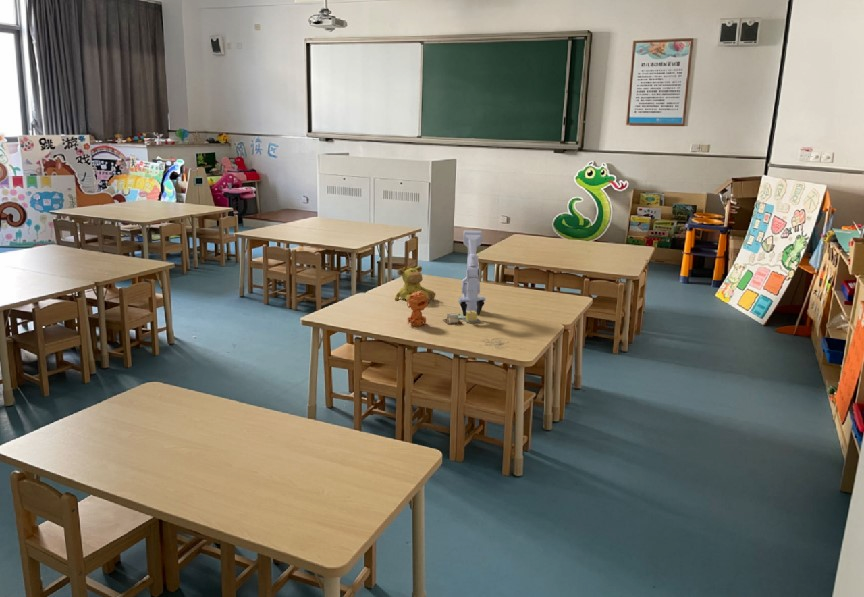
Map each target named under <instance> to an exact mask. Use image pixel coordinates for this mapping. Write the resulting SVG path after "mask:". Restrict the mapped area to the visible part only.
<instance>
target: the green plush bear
mask: <svg viewBox="0 0 864 597" xmlns="http://www.w3.org/2000/svg"><path fill="white" fill-rule="evenodd" d="M422 270H423V267H422V266H421V265H418V266H416V267H415V266H414V265H410V267H409V266H406V267H405V266H403V268H399V269H398V270H397V271H396V273H397V275H398V276H401V279H402V281H403V283H404V284H403V286H402V287H401V288H400V290H399V291H398V292H397V293H396V294H395V297H394V300H395V301H396V300H397V301H398V300H399V299H402V300H405V299H406V302H407V299H408V297H409V296H410V295H412V293H414V292H418V291H421V290H422V291H421V292H423V293H424V294H426V296H427V299H426V300H424V301H429V302H430V300H432V301H434V300H435V298H436V292H435V291H434V290H431V289H429V288H426V287H424V286H422V285H421V282H422V281H423V274H422V273H421V272H422ZM408 302H409V299H408Z"/></svg>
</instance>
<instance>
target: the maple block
mask: <svg viewBox="0 0 864 597" xmlns="http://www.w3.org/2000/svg"><path fill="white" fill-rule="evenodd" d="M458 314H459V313H457V312H456V311H452V312H450V311H449V312H446V319H447V322H448V323H455V322H458V320H459V319H458Z"/></svg>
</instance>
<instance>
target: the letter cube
mask: <svg viewBox="0 0 864 597" xmlns="http://www.w3.org/2000/svg"><path fill="white" fill-rule="evenodd" d="M465 317H466V318H465V320H467V321H477V318H478V315H477V312H475V311H466V316H465Z"/></svg>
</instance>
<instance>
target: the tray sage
mask: <svg viewBox="0 0 864 597" xmlns="http://www.w3.org/2000/svg"><path fill="white" fill-rule="evenodd" d="M457 314H458V320H462V318H463V317H466V316H464V315H463V313H461V312H459V313H457Z"/></svg>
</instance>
